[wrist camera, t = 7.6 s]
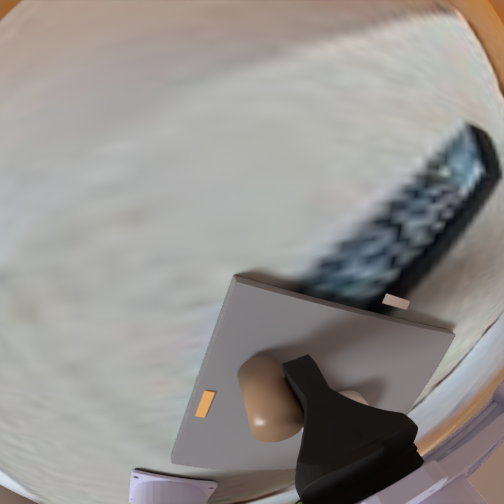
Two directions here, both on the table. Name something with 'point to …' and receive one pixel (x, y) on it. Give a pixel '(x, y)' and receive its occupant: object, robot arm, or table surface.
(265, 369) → the brown white rounded rod
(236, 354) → the stud board
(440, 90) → the table surface
